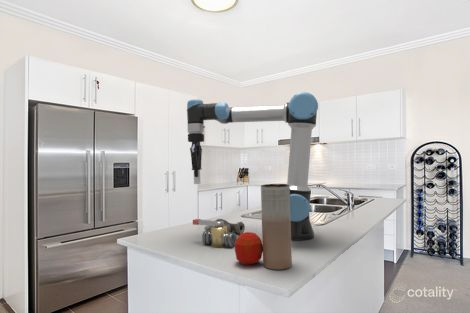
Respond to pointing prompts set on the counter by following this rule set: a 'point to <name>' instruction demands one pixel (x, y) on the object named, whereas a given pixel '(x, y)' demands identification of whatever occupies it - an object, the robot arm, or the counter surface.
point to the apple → (248, 248)
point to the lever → (208, 223)
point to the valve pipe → (219, 237)
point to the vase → (276, 226)
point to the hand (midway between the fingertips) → (197, 183)
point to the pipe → (230, 226)
